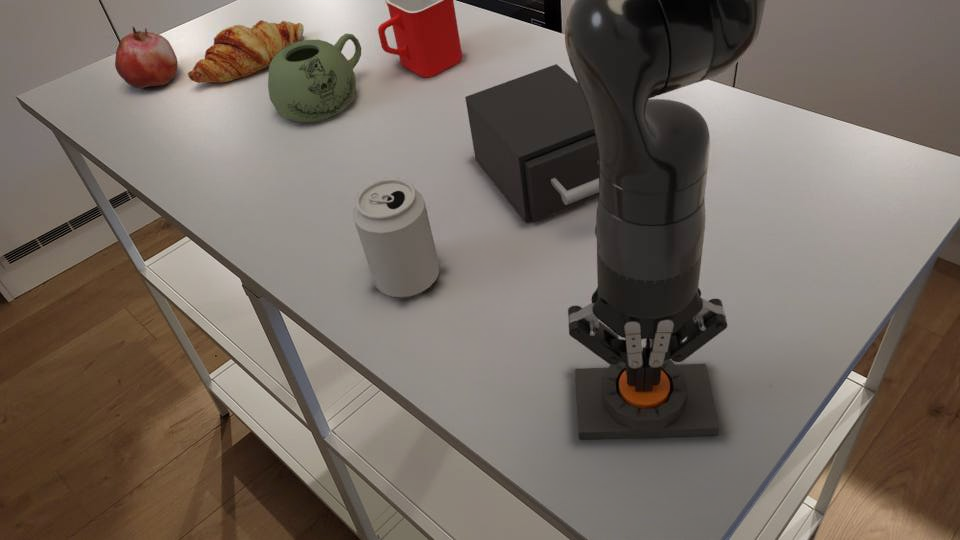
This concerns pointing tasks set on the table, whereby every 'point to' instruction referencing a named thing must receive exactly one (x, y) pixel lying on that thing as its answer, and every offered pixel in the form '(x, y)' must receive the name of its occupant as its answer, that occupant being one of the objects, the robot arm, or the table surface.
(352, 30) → the table surface
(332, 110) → the mug
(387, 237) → the can
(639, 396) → the button
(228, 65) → the croissant
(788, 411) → the table surface
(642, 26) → the robot arm
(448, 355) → the table surface
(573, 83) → the black drawer cabinet
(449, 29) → the mug
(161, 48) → the fruit
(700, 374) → the control block
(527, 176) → the small dark drawer
